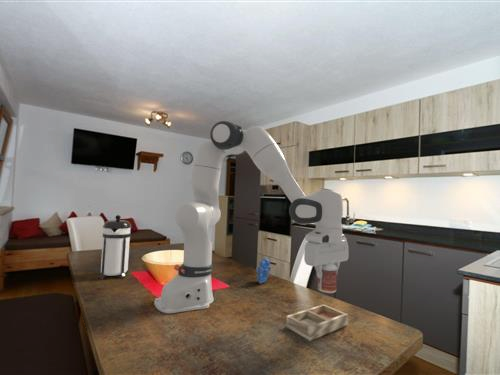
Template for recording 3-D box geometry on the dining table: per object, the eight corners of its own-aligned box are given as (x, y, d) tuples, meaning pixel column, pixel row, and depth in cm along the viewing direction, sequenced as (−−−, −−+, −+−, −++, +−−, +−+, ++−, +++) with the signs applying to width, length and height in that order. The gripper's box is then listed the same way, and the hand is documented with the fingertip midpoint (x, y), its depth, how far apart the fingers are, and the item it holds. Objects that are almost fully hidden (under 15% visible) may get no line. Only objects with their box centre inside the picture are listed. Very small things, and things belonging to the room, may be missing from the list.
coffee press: (138, 274, 134) (142, 215, 135) (107, 282, 120) (112, 216, 122) (119, 268, 143) (122, 213, 145) (88, 275, 130) (92, 214, 131)
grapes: (261, 278, 138) (262, 255, 138) (273, 280, 134) (274, 257, 135) (249, 283, 128) (250, 258, 128) (261, 286, 124) (263, 260, 125)
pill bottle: (340, 291, 89) (341, 258, 90) (328, 294, 86) (329, 260, 86) (325, 286, 95) (326, 255, 95) (313, 289, 91) (314, 256, 92)
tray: (310, 340, 77) (310, 328, 78) (286, 326, 85) (286, 315, 86) (347, 324, 89) (347, 314, 89) (323, 313, 97) (323, 304, 97)
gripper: (338, 233, 100) (337, 270, 99) (301, 235, 88) (300, 277, 87) (353, 235, 95) (352, 274, 94) (317, 238, 83) (315, 283, 82)
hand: (327, 276), depth 90 cm, fingers closed on pill bottle, 6 cm apart
